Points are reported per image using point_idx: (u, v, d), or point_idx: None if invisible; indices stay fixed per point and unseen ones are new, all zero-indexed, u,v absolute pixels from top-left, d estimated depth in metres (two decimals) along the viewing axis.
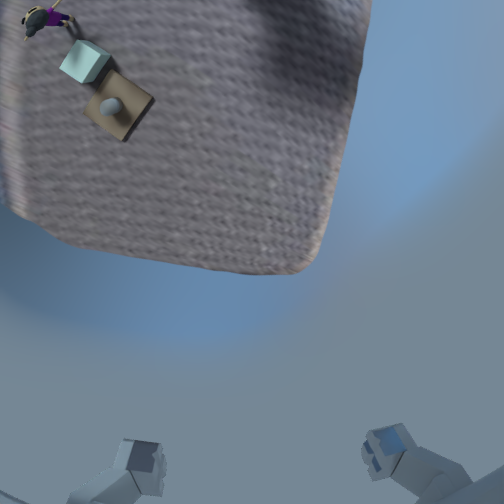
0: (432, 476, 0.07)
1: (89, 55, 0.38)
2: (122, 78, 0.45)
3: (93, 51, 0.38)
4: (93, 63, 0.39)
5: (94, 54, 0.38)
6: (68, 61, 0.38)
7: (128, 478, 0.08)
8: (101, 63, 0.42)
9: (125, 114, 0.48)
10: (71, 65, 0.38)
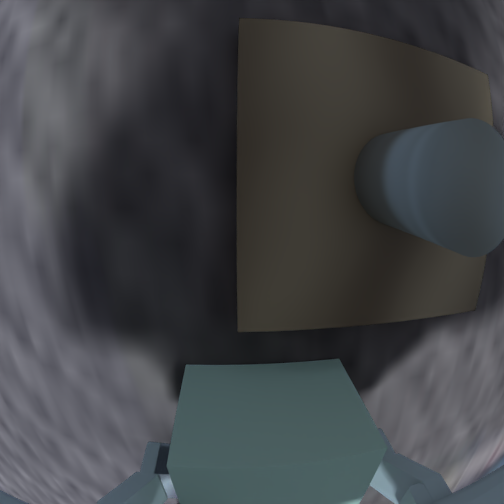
0: (409, 484, 0.07)
1: (217, 499, 0.07)
2: (241, 235, 0.09)
3: (184, 494, 0.07)
4: (243, 471, 0.07)
5: (193, 486, 0.07)
6: None
7: (156, 482, 0.08)
8: (236, 396, 0.09)
9: (403, 99, 0.08)
10: None
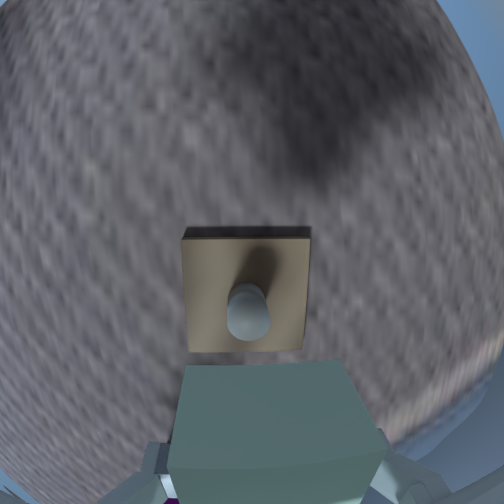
0: (409, 484, 0.07)
1: (217, 499, 0.07)
2: (187, 320, 0.25)
3: (184, 495, 0.07)
4: (243, 472, 0.07)
5: (193, 487, 0.07)
6: None
7: (156, 482, 0.08)
8: (236, 396, 0.09)
9: (250, 267, 0.24)
10: None
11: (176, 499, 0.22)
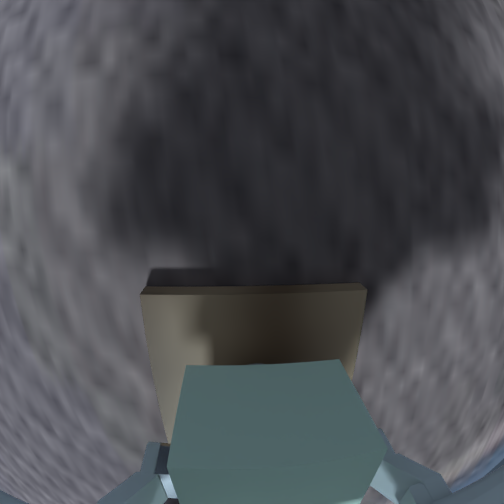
0: (409, 484, 0.07)
1: (217, 499, 0.07)
2: (162, 412, 0.14)
3: (184, 495, 0.07)
4: (243, 472, 0.07)
5: (193, 487, 0.07)
6: None
7: (156, 482, 0.08)
8: (236, 396, 0.09)
9: (264, 340, 0.14)
10: None
11: None
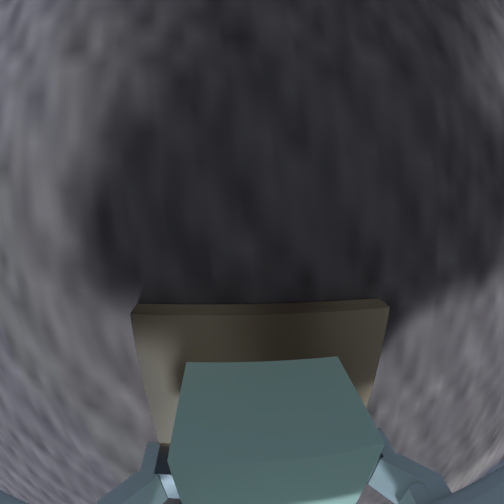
0: (409, 484, 0.07)
1: (217, 494, 0.07)
2: (159, 438, 0.12)
3: (184, 489, 0.07)
4: (242, 466, 0.07)
5: (194, 482, 0.07)
6: None
7: (156, 482, 0.08)
8: (236, 392, 0.10)
9: None
10: None
11: None
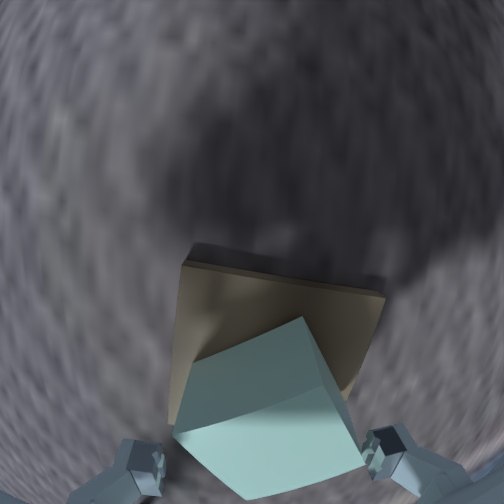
0: (432, 476, 0.07)
1: (223, 454, 0.10)
2: (172, 385, 0.15)
3: (200, 456, 0.10)
4: (218, 426, 0.10)
5: (199, 447, 0.10)
6: (319, 470, 0.11)
7: (128, 478, 0.08)
8: (220, 373, 0.13)
9: None
10: (316, 457, 0.10)
11: None
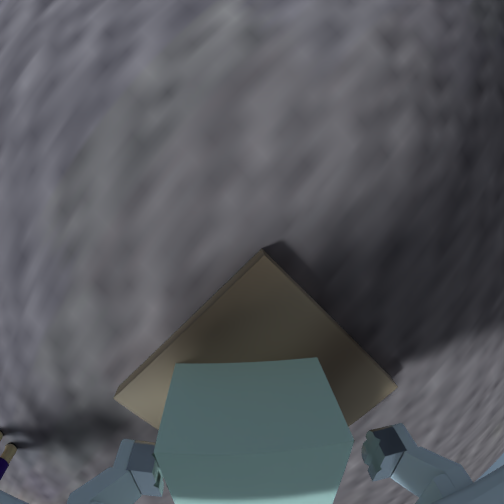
0: (432, 476, 0.07)
1: (201, 484, 0.08)
2: (151, 366, 0.12)
3: (171, 479, 0.08)
4: (220, 457, 0.08)
5: (179, 472, 0.08)
6: None
7: (128, 478, 0.08)
8: (218, 391, 0.10)
9: None
10: None
11: None
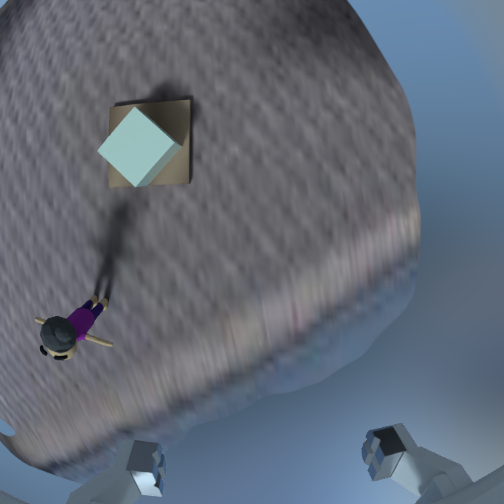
0: (432, 476, 0.07)
1: (115, 152, 0.28)
2: None
3: (108, 158, 0.29)
4: (110, 137, 0.28)
5: (107, 152, 0.28)
6: (154, 150, 0.29)
7: (128, 478, 0.08)
8: None
9: None
10: (148, 141, 0.28)
11: (81, 320, 0.30)
